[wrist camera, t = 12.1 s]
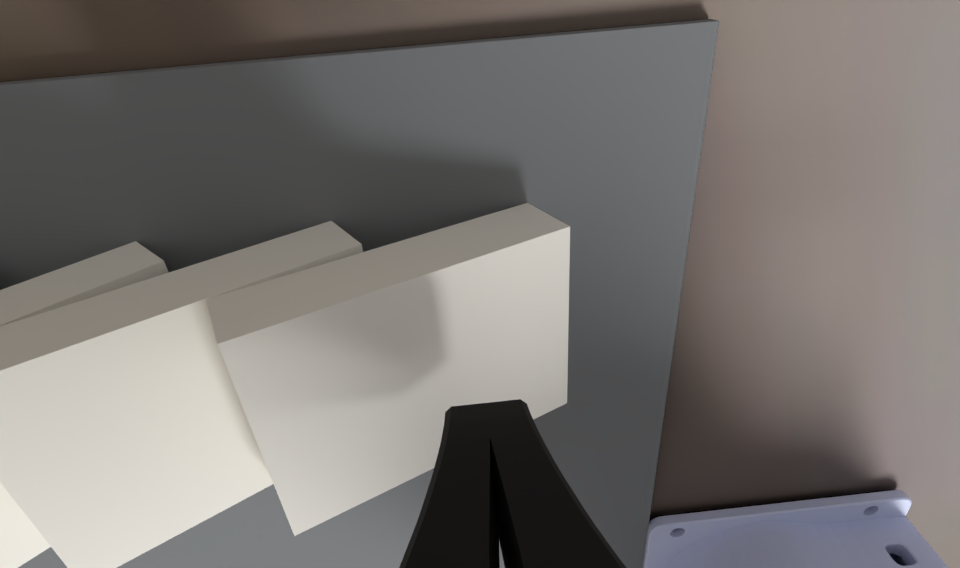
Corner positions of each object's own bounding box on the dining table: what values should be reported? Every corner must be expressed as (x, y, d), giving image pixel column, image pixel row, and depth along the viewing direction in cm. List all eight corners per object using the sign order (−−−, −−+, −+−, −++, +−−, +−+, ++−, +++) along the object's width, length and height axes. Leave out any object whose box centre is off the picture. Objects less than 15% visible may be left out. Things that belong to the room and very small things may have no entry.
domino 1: (163, 260, 12) (-378, 473, 7) (235, 430, 14) (-132, 661, 10) (135, 241, 12) (-358, 419, 8) (207, 403, 15) (-137, 602, 11)
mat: (710, 18, 11) (719, 20, 11) (638, 561, 21) (642, 571, 21) (-607, 136, 11) (-641, 142, 10) (-48, 639, 21) (-56, 651, 20)
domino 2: (361, 244, 11) (-69, 395, 8) (397, 417, 14) (82, 585, 11) (331, 220, 13) (-57, 344, 9) (369, 385, 15) (76, 528, 12)
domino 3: (570, 226, 11) (217, 344, 9) (567, 402, 14) (294, 535, 11) (527, 202, 13) (206, 299, 10) (532, 369, 15) (278, 482, 13)
